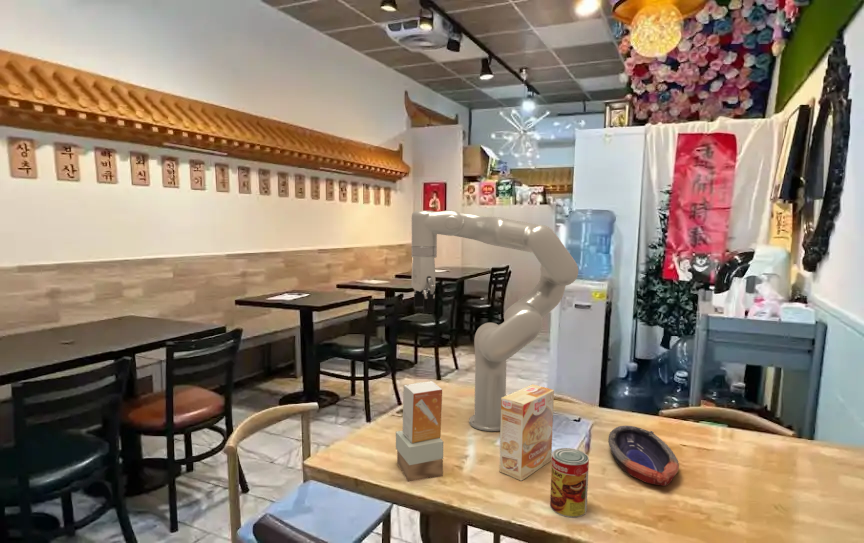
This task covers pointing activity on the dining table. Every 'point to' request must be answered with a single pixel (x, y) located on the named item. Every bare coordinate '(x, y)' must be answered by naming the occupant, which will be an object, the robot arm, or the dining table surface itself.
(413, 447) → the tower top
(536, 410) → the coffeecake box
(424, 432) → the small box
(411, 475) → the tower base
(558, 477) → the canned food
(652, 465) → the dish
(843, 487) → the dining table surface
